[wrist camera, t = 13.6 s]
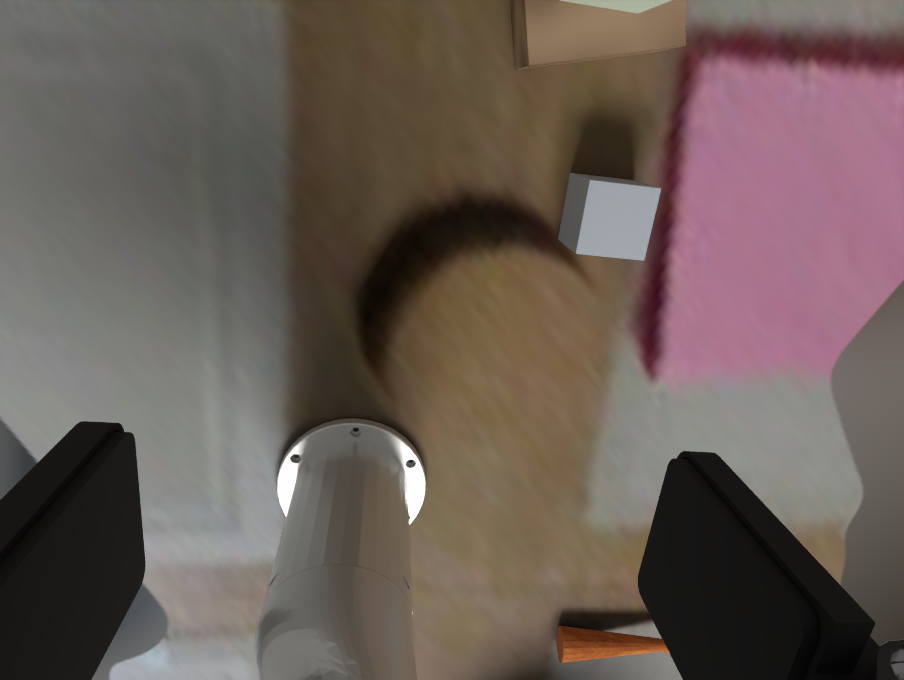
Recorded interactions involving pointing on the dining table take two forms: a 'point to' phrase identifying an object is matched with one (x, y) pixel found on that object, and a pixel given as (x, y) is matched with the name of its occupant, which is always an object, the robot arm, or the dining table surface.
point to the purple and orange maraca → (602, 644)
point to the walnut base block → (591, 31)
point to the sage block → (622, 4)
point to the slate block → (608, 216)
